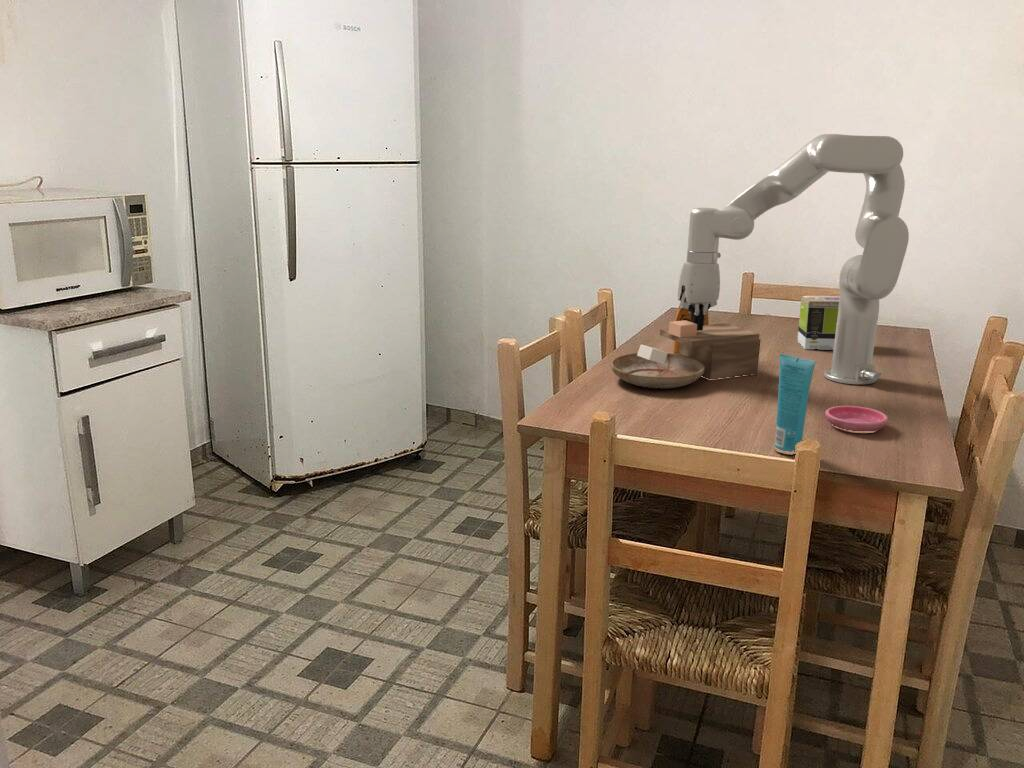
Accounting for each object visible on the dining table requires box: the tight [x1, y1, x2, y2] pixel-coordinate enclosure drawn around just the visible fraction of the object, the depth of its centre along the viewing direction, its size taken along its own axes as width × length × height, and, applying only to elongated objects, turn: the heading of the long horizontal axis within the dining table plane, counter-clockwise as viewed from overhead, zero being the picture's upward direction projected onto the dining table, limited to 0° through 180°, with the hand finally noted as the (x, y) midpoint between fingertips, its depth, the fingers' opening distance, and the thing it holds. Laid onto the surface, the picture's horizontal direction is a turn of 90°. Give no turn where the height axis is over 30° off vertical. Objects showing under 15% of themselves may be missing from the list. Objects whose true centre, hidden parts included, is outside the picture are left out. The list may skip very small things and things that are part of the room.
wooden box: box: [659, 322, 761, 379], centre depth 220 cm, size 14×22×11 cm, turn 114°
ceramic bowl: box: [610, 352, 705, 390], centre depth 212 cm, size 23×24×5 cm
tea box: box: [797, 295, 839, 351], centre depth 248 cm, size 15×10×15 cm
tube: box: [774, 353, 817, 452], centre depth 163 cm, size 7×5×19 cm, turn 47°
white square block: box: [637, 343, 669, 364], centre depth 211 cm, size 5×5×3 cm
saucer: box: [824, 405, 889, 431], centre depth 180 cm, size 12×12×3 cm
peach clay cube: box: [668, 320, 697, 337], centre depth 214 cm, size 5×5×3 cm
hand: (696, 329), depth 216 cm, fingers closed
